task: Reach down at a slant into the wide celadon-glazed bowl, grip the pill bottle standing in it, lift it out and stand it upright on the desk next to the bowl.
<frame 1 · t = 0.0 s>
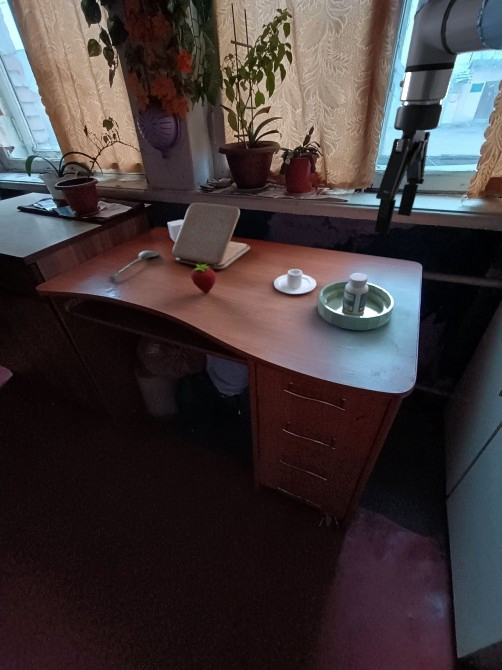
hand: (393, 223, 68), 20 cm above the table, tool pointing down, fingers open, 13 cm apart
candle holder: (294, 286, 89), on the table
case: (213, 256, 109), on the table
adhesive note: (179, 238, 124), on the table
bowl: (352, 311, 77), on the table
strawberry: (206, 294, 88), on the table
soupspoon: (135, 267, 105), on the table
pill bottle: (352, 309, 77), resting on bowl
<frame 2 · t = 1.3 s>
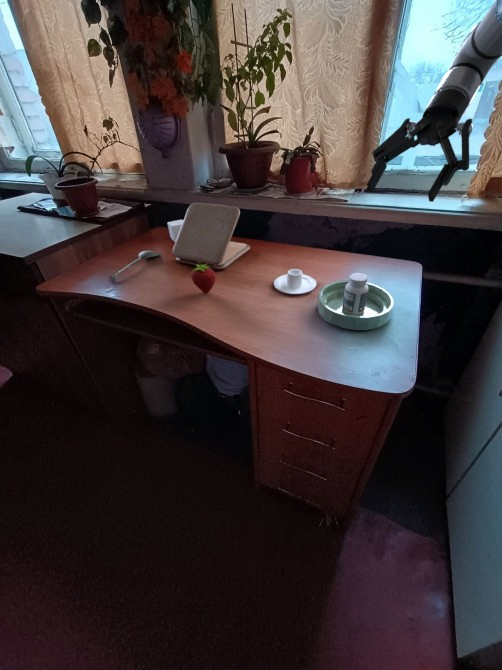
hand: (398, 192, 67), 25 cm above the table, tool tilted 45°, fingers open, 13 cm apart
nothing on the table moved.
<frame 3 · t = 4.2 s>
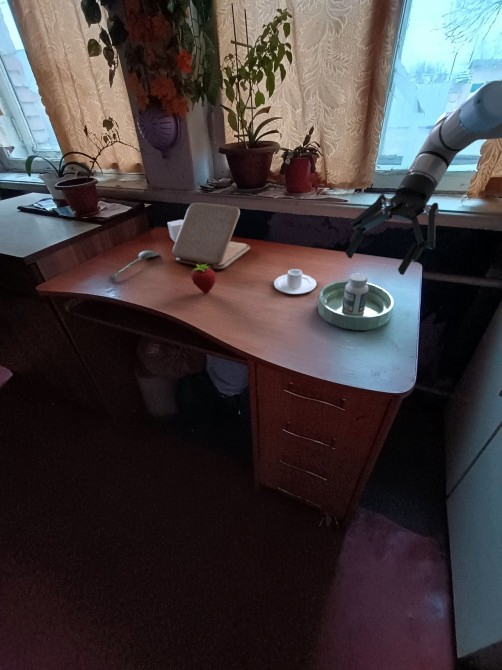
hand: (372, 263, 74), 11 cm above the table, tool tilted 45°, fingers open, 13 cm apart
nothing on the table moved.
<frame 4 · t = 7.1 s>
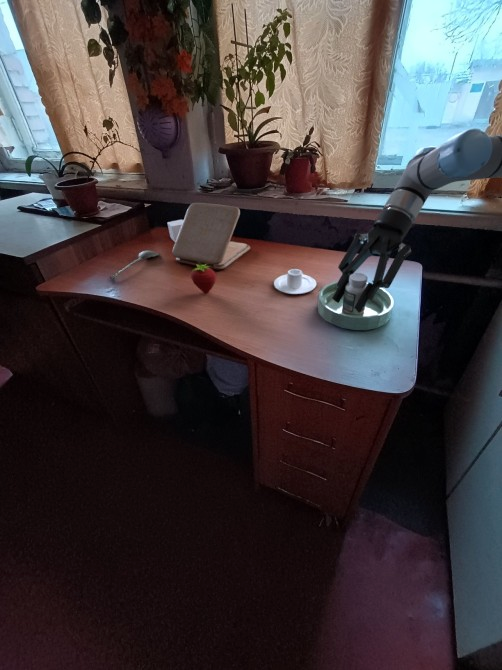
hand: (346, 305, 73), 4 cm above the table, tool tilted 45°, fingers closed on pill bottle, 5 cm apart
pill bottle: (353, 309, 77), resting on bowl, touching gripper
everything else where it was.
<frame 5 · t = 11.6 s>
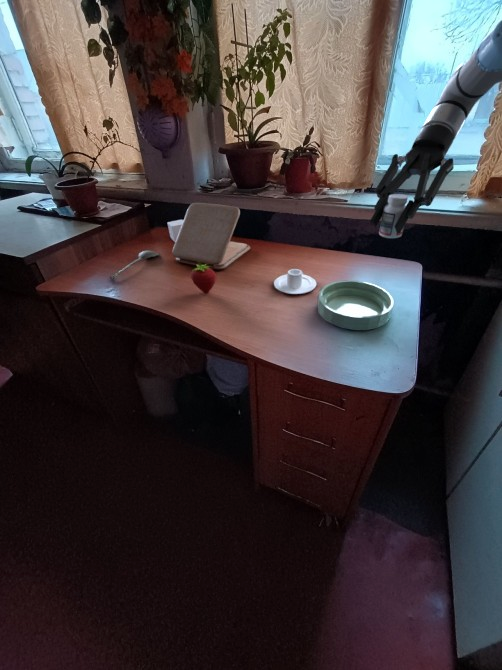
hand: (384, 226, 72), 18 cm above the table, tool tilted 45°, fingers closed on pill bottle, 5 cm apart
pill bottle: (389, 235, 76), point 15 cm above the table, touching gripper
everything else where it was.
when the fingers open (3 cm above the table, at t = 16.2 s): pill bottle stays where it is, on the table.
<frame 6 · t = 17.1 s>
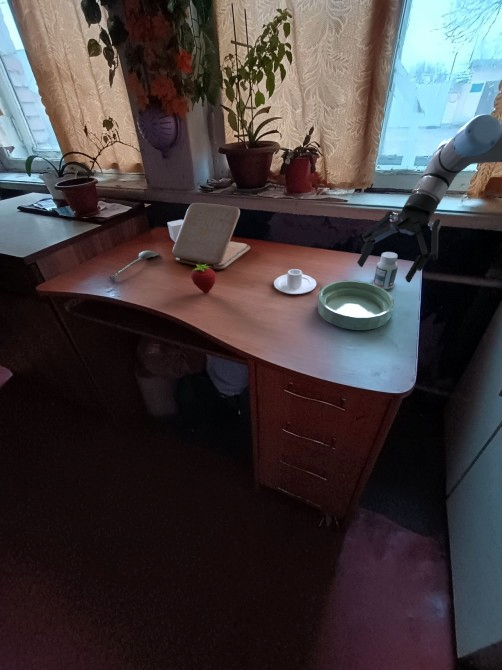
hand: (382, 272, 83), 5 cm above the table, tool tilted 45°, fingers open, 13 cm apart
pill bottle: (382, 285, 87), on the table
everything else where it was.
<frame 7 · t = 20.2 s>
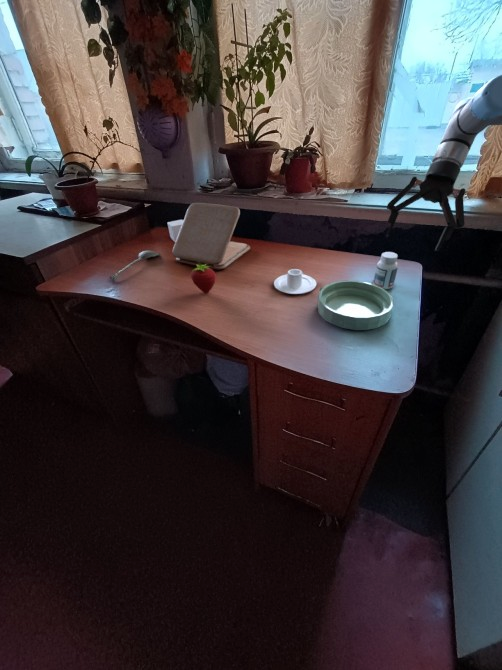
hand: (411, 243, 87), 9 cm above the table, tool tilted 35°, fingers open, 13 cm apart
nothing on the table moved.
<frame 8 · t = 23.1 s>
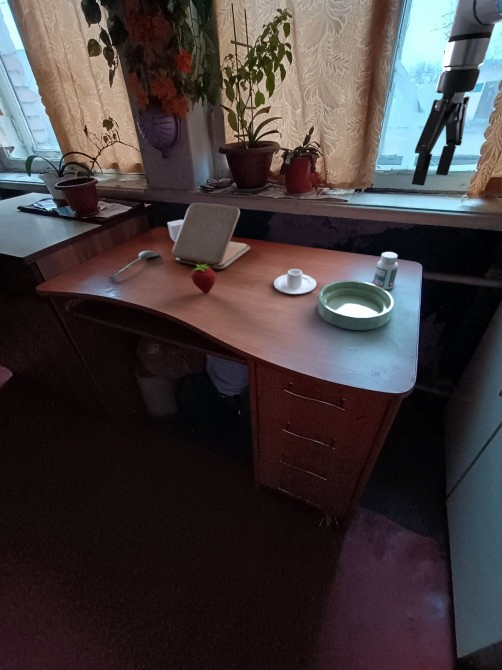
hand: (430, 179, 78), 25 cm above the table, tool pointing down, fingers open, 13 cm apart
nothing on the table moved.
at the end: pill bottle inside the target area (0.1 cm from its centre), on the table; pill bottle tilted 0°; the gripper is holding nothing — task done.
